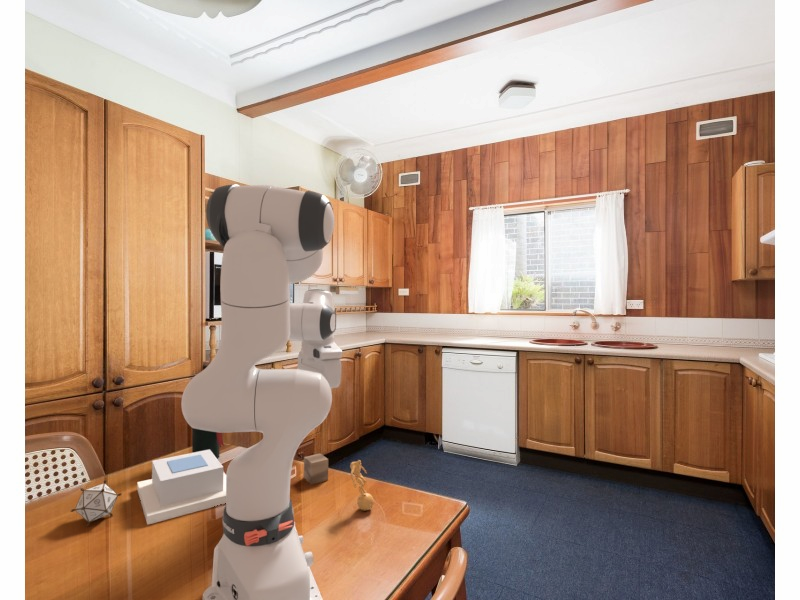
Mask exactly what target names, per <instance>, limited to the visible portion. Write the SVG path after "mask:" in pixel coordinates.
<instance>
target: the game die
mask: <svg viewBox="0 0 800 600" xmlns="http://www.w3.org/2000/svg"><path fill="white" fill-rule="evenodd" d="M106 483H107V479H104V480H103V483H99V484H98V485H94V486H92V487H89V488H86V489H84V488H83V487H80V491H81V494H80V496H79V499H78V501H77V503H76V506H75V508H73V509H71V510H70V512H71V513H73V512H76V513H78V515H80V516H81V517H82V518H83V519H84V521H86V522H87V523H86V527H87V526H88V527H89V526H90V524H91V523H92V522H94V521H97V520H99V519H101V518H104V517H107V516H110V517H114V514H113V513H112V511H113V508H114V506H115V503H116V501H117V499H118V498H119V496H122V495H123V493H122V492H120V493H117V492H116V491H115V490H114V489H112V488H111V487H110V486H109V484H106Z"/></svg>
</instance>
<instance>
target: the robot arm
mask: <svg viewBox="0 0 800 600" xmlns="http://www.w3.org/2000/svg"><path fill="white" fill-rule="evenodd" d="M205 210H206V211H205V216H206V217H205V218H206V222H207V226H208V229H209V231H210V233H211V234H212V236H213V237H214V239H215V241H217V242H218V243H219V245H220V247H221V248H222V249H223V252H222V259H221V267H220V279H219V280H220V288H219V289H220V290H219V291H220V309H221V314H220V315H221V329H220V330H221V331H220V332H221V333H220V342H219V346H218V349H217V352H216V354H215V356H214V357H213V359H212V361H211V362H210V364H209V365H208V366H207V367H206V368H205V369H204V370H203V369H202V371H200V372H199V373H197V374H196V375H194V376H193V377H192V378H191V379H190V380H189V381H188V383H187V385H186V386H185V388H184V389H183V393H182V396H181V403H180V405H181V412H182V415H183V418H184V419H185V421H186V422H187V424H188V425H189V427H191V428H192V429H193V428H194V429H200V430H205V431H212V432H219V433H221V434H222V433H249V432H251V433H252V432H258V433H262V436H263V437H262V439H261V440H260V441H259V442H257V443H256V444H254V445H252V446H249V447H248V448H246V449H244V450H242V451H240V452H238V454H237V455H236V456H234V457H233V459H231V461H230V462H229V464H228V466H227V469H226V473H225V474H226V504H225V506H224V508H223V512H222V513H223V515H222V520H221V521H222V531H223V534H222V537H221V538H220V540H219V542H218V543H217V544H216V545H215V547H214V548H213V549H214V550H213V560H212V561H213V563H212V575H211V576H212V579H211V585H209V586H208V588H206V589H205V590H204V592H203V594H202V597H201V598H202V599H201V600H324V599H323V597H322V595H321V592H320V589H319V586H318V584H317V582H316V579H315V577H314V574H313V573H312V570H311V567H312V566H313V565H314V556H313V552H312V551H306V552H305V551H304V550H303V546H302V544H303V543H304V535H302V534H301V535H299V534H298V531H297V528H296V522H295V517H294V515H295V512H294V507H293V502H292V498H290V494H291V493H290V492H291V478H292V470H293V469H292V467H293V461H294V459H295V456H296V453H297V452H298V451H297V450H298V449H299V446H300V445H301V444H302V442H303V441H304V440H305V438H306V437H307V436H308V435H309V434H310V433H311V432H312V431H313V430H314V429H316V428H317V427H319V426H320V425H321V424H322V423H323V422H324V421H325V419H327V417H328V415H329V413H330V411H331V407H332V404H333V403H332V402H333V395H332V394H333V393H332V392H333V391H332V390H333V389H334V388H335V389H336V388H339V387H340V385H341V382H342V362H341V359H342V358H343V350H342V349H341V348H340V347H339V346H338V344H337V343H336V342H335V335H334V333H335V332H336V330H337V312H336V311H335V303H334V296H333V293H332V292H331V291H329V290H327V289H321V288H320V289H319V288H318V289H316V288H314V289H309V290H306V291H305V292H304V294H303V302H302V303H301V302H291V294H290V293H291V292H290V291H291V290H290V285H293V284H296V283H301V282H304V281H305V280H307V279H309V278H311V277H312V276H314V275H315V273H316V272H317V271H319V269H320V267H321V265H322V263H323V259H324V258H323V257H324V255H323V254H324V253H323V252H324V250H323V249H324V248H325V247H326V246H327V245H328V244H329V243H330V242H331V238H332V236H333V233H334V230H335V224H336V223H335V221H336V220H335V214H334V211H333V205H332V203H331V201H330V200H329V198H327V197H326V196H325V195H324V194H322V193H319V192H316V191H312V190H306V191H302V190H297V189H295V188H293V189H291V188H285V187H279V186H278V187H276V186H274V185H267V184H256V185H255V184H253V185H252V184H251V185H249V184H248V185H240V184H237V183H235V184H234V183H233V184H226V185H221V186H218V187H216V188H215V189H214V190H213V192H212V193H211V194H210V196H209V197H208V199H207V204H206V209H205ZM288 341H296V342H298V341H299V342H301V348H300V349H301V350H300V351H299V352H298V356H297V365H296V368H277V369H275V368H270V369H269V368H263V369H261V368H257V366H256V364H258V363H259V362H261V361H263V360H265V359H267V358H269V357H272V356H273V355H275V354H277V353H278V352H279V351H281V350H282V349H283V348H284V347H285V346H286V345H287V343H288Z"/></svg>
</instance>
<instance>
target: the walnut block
mask: <svg viewBox="0 0 800 600" xmlns="http://www.w3.org/2000/svg"><path fill="white" fill-rule="evenodd" d="M303 479H304V480H305V479H306V480H305V481H306V482H308V483H309V484H310V485H311V486H312V484H313V485H316V484H319V483H318V482H320V483H323V482H326V480H327V481H329V458H327V457H326V456H324V454H322V453H321V452H320V453H316V454H315V453H314V454H312V455H308V456H303ZM322 481H323V482H322ZM315 483H316V484H315Z"/></svg>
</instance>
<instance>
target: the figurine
mask: <svg viewBox="0 0 800 600" xmlns="http://www.w3.org/2000/svg"><path fill="white" fill-rule="evenodd" d="M349 467H350V470H351V471H350V477H351V480H352V483H353V487H354V488H357V487H358V492H359V493H360V495H359V496H357V501H356V502H357V507H358V508H359V509H360V510H361V511H365V512H366V511H367V512H368V511H369V510H371V509H372V507H373V506H374V503H375V502H374V501H375V500H374V496H372V494H371V493H368V491H366V490H365V488H364V486H365V485H366V484H367V480H366V479H365V478H364V476H363V475H362V473H361V471H362V470H363V471H364V473H365V474H368V472H367V470H366V469H365V467H363V466H362V461H361V460H360V459H358V460H357V461H352V462H350V465H349ZM354 476H355V477H354ZM355 481H356V482H355ZM358 484H359V486H358Z"/></svg>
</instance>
